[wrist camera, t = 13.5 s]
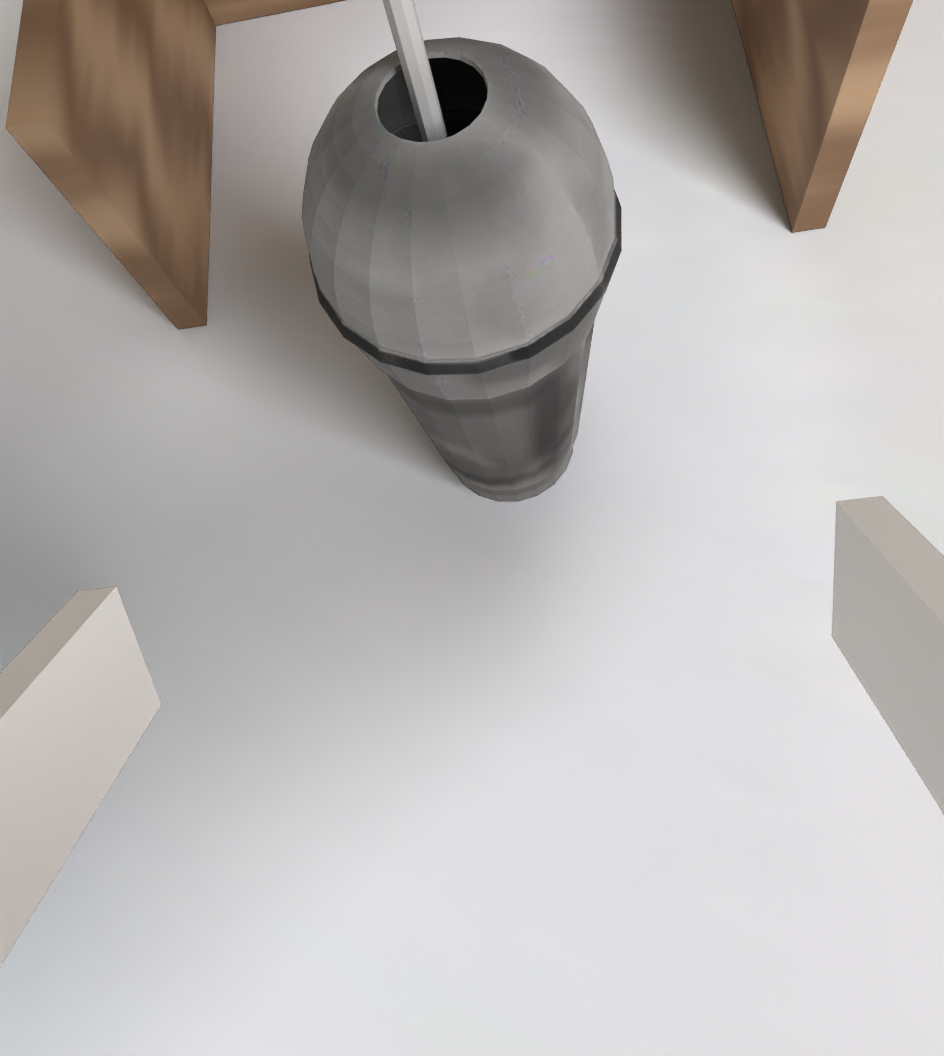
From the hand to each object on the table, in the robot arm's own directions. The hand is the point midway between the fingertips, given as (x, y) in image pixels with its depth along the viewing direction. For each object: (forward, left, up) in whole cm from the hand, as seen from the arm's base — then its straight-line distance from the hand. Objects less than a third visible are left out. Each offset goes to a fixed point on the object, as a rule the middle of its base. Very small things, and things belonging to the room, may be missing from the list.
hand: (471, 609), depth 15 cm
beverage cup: (+7, -6, -13) cm, 15 cm away
